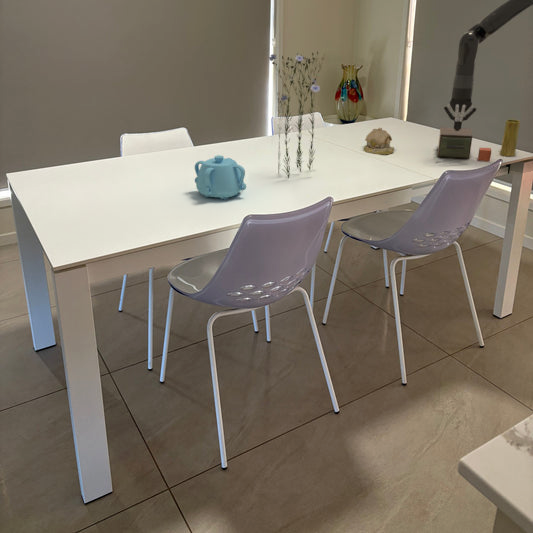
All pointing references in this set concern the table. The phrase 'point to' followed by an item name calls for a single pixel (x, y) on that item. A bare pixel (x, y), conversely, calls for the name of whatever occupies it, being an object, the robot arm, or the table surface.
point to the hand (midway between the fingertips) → (457, 130)
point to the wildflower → (315, 89)
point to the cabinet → (452, 133)
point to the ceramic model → (378, 142)
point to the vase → (510, 138)
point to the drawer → (455, 146)
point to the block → (484, 154)
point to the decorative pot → (219, 177)
